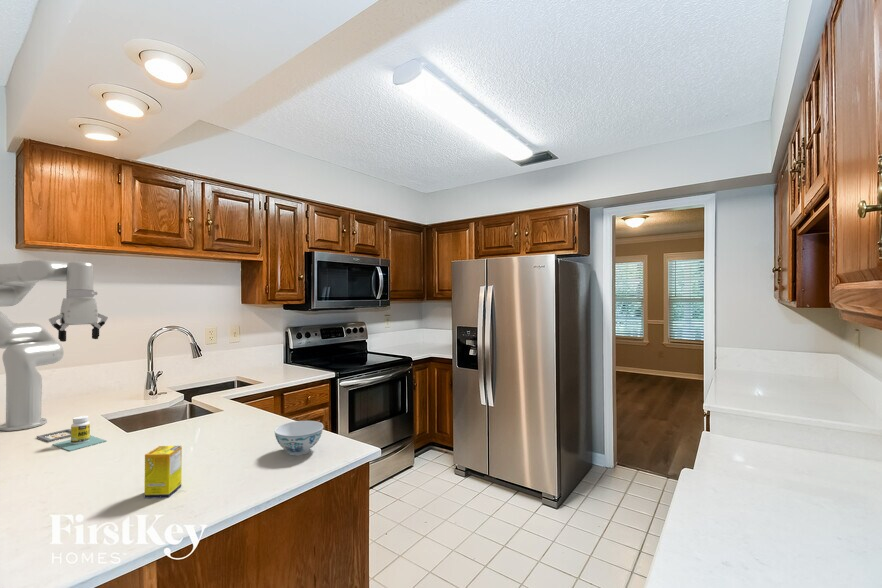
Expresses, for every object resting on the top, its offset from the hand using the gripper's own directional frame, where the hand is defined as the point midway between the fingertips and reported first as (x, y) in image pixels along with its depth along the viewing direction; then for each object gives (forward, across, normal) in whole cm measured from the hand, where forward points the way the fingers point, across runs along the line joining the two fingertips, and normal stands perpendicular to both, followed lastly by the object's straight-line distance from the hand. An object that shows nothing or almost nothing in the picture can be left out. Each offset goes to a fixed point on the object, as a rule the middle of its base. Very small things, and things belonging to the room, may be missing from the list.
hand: (79, 340), depth 152 cm
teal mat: (+33, +7, +19) cm, 39 cm away
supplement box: (+34, +14, +80) cm, 88 cm away
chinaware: (+34, -22, +90) cm, 99 cm away
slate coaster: (+33, +7, +4) cm, 34 cm away
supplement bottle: (+33, +7, +19) cm, 39 cm away
